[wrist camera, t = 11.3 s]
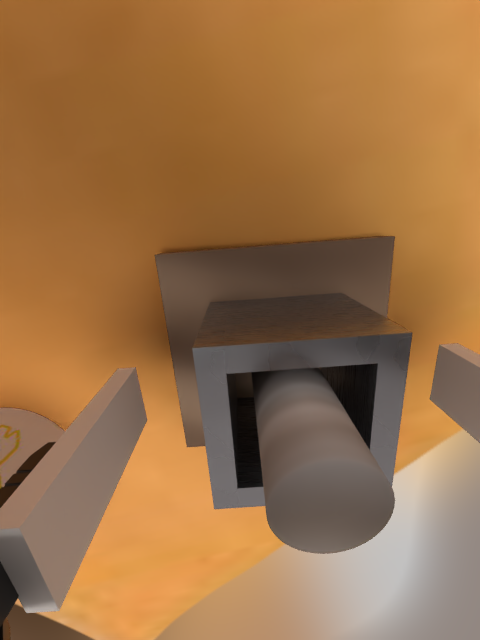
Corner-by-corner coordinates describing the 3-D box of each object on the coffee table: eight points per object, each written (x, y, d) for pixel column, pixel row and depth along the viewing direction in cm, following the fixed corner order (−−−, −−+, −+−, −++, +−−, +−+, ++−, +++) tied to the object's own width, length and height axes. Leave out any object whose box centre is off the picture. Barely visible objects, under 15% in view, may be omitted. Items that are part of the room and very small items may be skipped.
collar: (210, 302, 14) (192, 348, 9) (341, 292, 14) (412, 332, 9) (222, 413, 16) (214, 509, 11) (336, 405, 16) (390, 498, 11)
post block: (160, 253, 15) (13, 292, 5) (382, 236, 15) (675, 241, 5) (190, 433, 18) (137, 658, 9) (366, 421, 18) (515, 636, 9)
